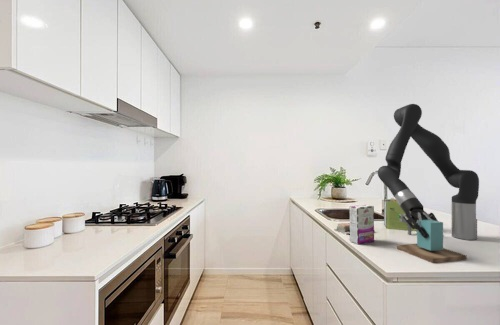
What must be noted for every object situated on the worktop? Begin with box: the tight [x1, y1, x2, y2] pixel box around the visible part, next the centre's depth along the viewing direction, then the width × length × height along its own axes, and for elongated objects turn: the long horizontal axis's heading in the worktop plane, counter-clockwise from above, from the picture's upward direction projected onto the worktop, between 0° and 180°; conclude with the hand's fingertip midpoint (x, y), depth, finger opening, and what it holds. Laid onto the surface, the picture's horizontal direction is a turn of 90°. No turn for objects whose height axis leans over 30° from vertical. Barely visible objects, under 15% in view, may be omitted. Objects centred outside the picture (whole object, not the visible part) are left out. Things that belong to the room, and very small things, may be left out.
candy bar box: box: [349, 204, 375, 245], centre depth 117 cm, size 11×5×16 cm, turn 117°
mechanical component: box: [398, 214, 412, 236], centre depth 129 cm, size 3×10×10 cm, turn 79°
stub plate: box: [396, 243, 468, 264], centre depth 101 cm, size 16×16×4 cm
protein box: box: [383, 198, 417, 232], centre depth 143 cm, size 10×15×16 cm
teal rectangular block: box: [416, 219, 444, 251], centre depth 101 cm, size 6×6×11 cm
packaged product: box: [333, 222, 375, 236], centre depth 135 cm, size 18×5×10 cm
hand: (433, 236), depth 99 cm, fingers closed on teal rectangular block, 5 cm apart
